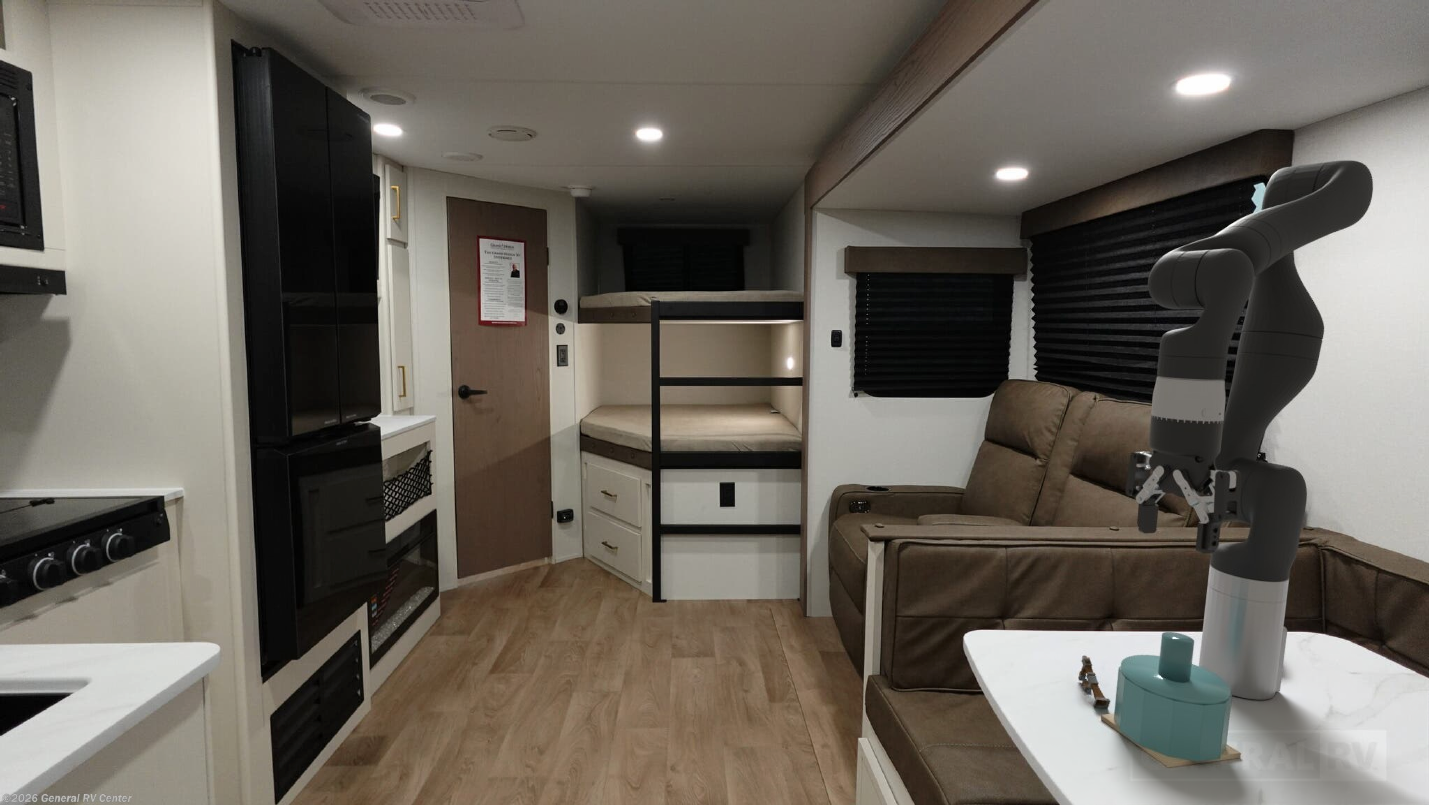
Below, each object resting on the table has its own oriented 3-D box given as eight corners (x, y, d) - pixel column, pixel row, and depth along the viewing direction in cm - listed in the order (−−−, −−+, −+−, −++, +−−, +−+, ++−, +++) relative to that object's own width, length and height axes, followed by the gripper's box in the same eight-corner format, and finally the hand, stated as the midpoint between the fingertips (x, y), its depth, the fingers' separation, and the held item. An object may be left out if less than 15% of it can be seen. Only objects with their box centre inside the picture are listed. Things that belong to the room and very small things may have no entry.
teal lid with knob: (1167, 705, 98) (1176, 616, 97) (1248, 755, 87) (1260, 655, 86) (1094, 713, 95) (1103, 621, 94) (1168, 766, 84) (1179, 663, 83)
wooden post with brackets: (1084, 673, 106) (1092, 652, 104) (1103, 721, 99) (1111, 699, 97) (1071, 672, 106) (1078, 651, 104) (1089, 720, 99) (1096, 698, 97)
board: (1167, 711, 98) (1167, 707, 98) (1240, 757, 87) (1240, 753, 87) (1100, 719, 95) (1101, 714, 95) (1168, 767, 85) (1168, 762, 85)
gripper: (1267, 422, 83) (1252, 558, 85) (1163, 407, 97) (1152, 525, 99) (1214, 423, 81) (1200, 562, 83) (1116, 407, 95) (1106, 527, 97)
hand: (1174, 542), depth 91 cm, fingers open, 8 cm apart
